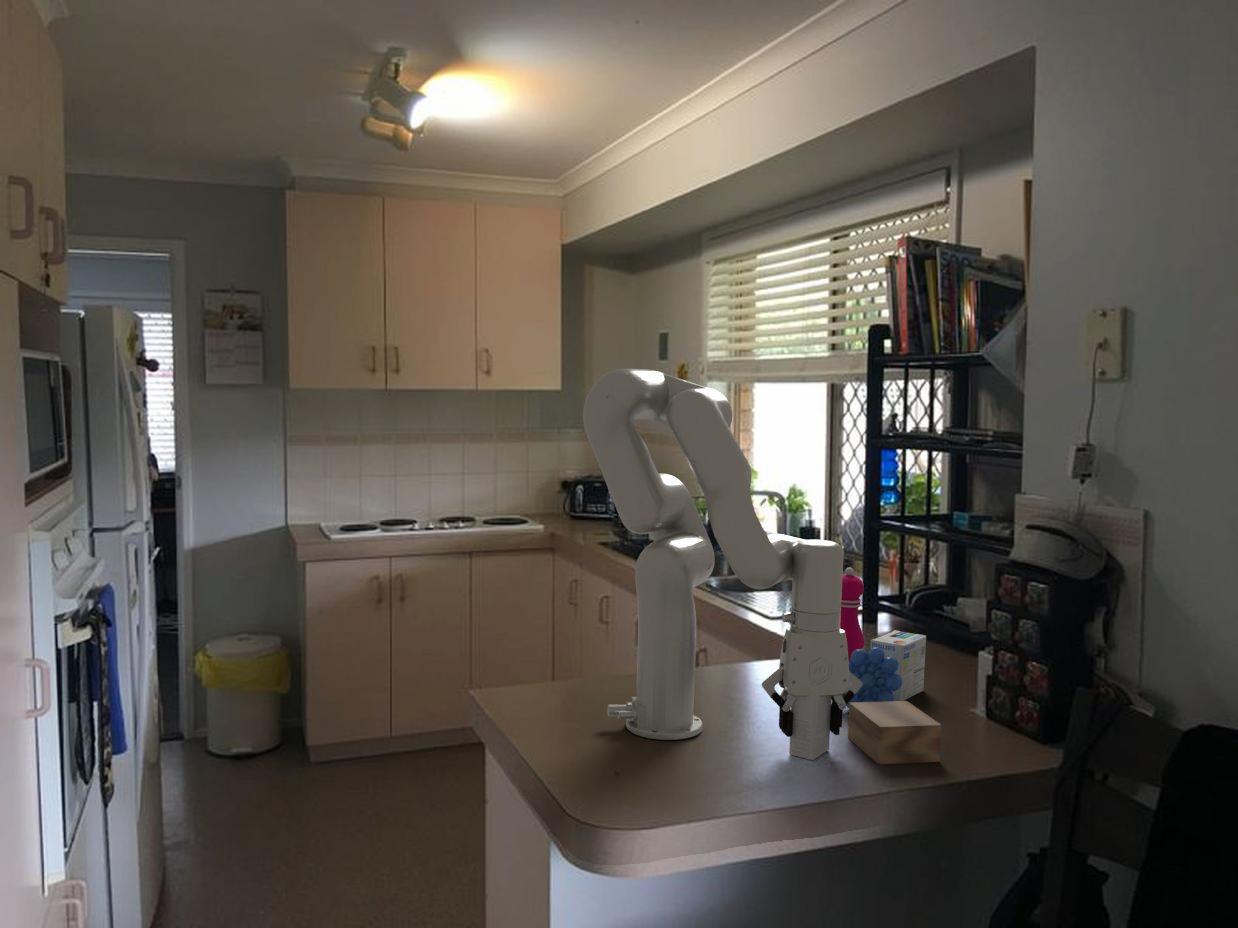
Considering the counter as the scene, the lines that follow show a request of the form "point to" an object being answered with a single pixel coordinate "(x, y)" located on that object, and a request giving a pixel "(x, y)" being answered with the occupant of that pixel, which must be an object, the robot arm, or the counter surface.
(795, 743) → the skincare box
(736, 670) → the counter surface
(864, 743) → the wooden block
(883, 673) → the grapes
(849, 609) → the pepper mill
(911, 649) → the light bulb box
